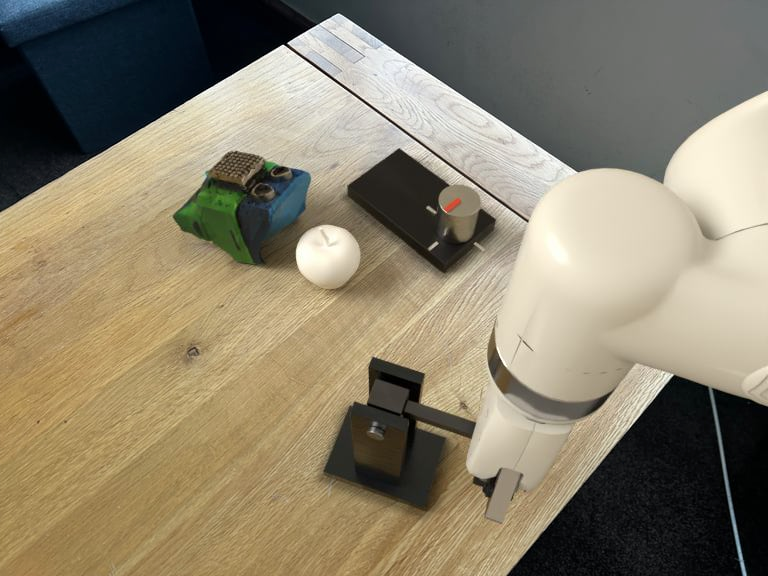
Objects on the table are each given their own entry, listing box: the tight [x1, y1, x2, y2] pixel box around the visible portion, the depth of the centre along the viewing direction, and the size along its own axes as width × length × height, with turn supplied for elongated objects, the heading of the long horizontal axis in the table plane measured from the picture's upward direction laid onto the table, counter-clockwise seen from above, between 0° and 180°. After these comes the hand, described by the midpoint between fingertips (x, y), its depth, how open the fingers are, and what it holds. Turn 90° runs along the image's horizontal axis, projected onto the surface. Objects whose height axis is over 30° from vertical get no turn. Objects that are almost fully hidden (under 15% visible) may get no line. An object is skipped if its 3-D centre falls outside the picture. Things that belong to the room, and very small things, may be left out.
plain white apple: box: [295, 224, 361, 290], centre depth 72 cm, size 7×7×8 cm
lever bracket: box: [322, 356, 447, 511], centre depth 57 cm, size 10×7×16 cm
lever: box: [366, 379, 477, 440], centre depth 51 cm, size 12×4×2 cm, turn 71°
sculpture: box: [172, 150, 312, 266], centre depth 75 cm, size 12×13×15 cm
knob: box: [435, 184, 482, 244], centre depth 74 cm, size 5×5×5 cm
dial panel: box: [346, 147, 497, 274], centre depth 79 cm, size 18×9×2 cm, turn 45°
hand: (500, 454), depth 53 cm, fingers closed on lever, 4 cm apart
